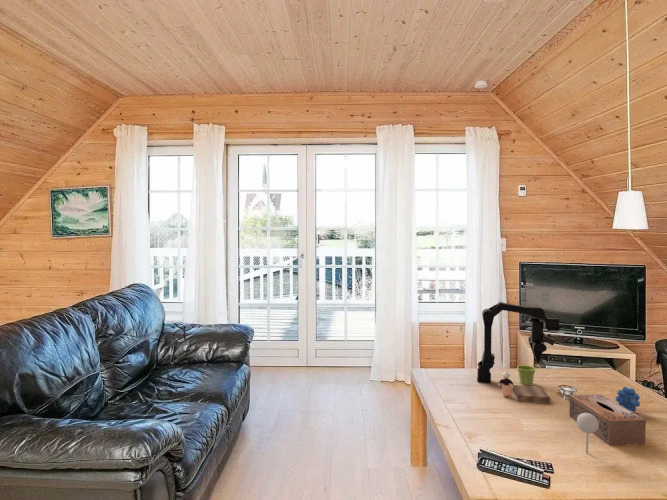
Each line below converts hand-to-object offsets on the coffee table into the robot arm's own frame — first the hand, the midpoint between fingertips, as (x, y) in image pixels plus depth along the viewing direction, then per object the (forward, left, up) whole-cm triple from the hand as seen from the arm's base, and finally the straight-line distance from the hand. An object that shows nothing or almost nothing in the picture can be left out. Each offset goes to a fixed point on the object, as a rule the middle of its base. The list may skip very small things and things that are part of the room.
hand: (536, 358), depth 229 cm
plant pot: (-5, +1, -15) cm, 15 cm away
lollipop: (+1, -71, -15) cm, 72 cm away
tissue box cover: (+15, -49, -15) cm, 53 cm away
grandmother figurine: (-19, -20, -15) cm, 31 cm away
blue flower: (+32, -30, -15) cm, 46 cm away
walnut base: (-7, -18, -14) cm, 24 cm away
